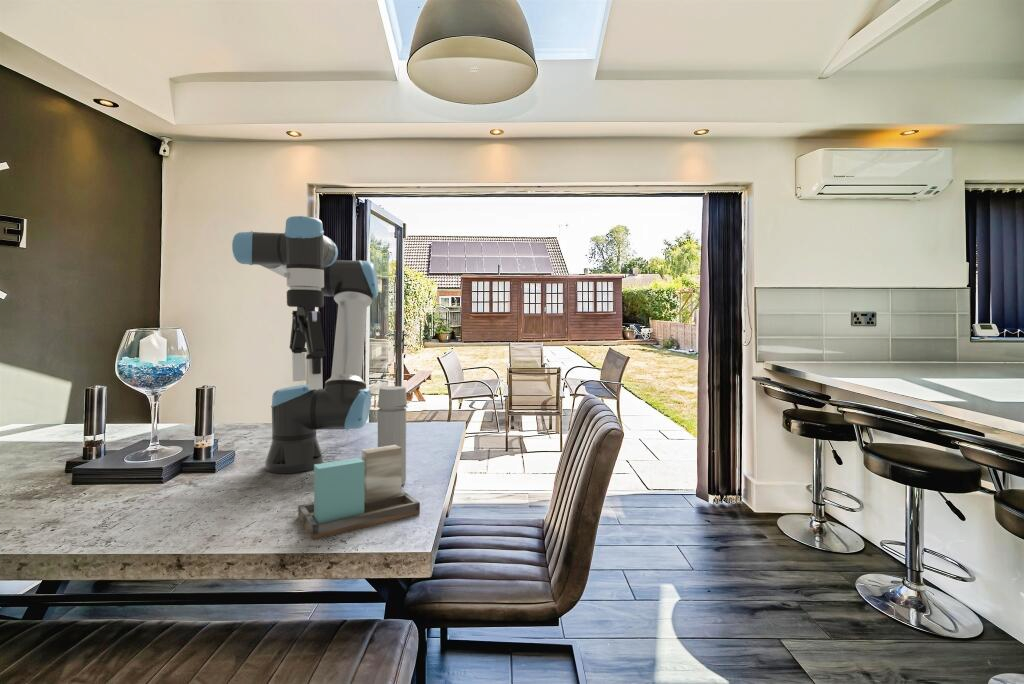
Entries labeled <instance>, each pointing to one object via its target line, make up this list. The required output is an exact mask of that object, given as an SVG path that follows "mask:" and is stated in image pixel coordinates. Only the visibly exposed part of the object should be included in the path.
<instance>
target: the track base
mask: <svg viewBox="0 0 1024 684" xmlns="http://www.w3.org/2000/svg"><path fill="white" fill-rule="evenodd" d="M361 460H363V461H364V514H360V515H355V516H351V517H346V518H342V519H338V520H333V521H329V522H324V523H320V524H317V523H316V522H315V520H314V502H310V503H305V504H300V505H298V507H297V508H298V509H297V510H298V511H297V512H298V515H297V517H298V520H299V521H300V522H301V524H302V525H303V526H304V528H305V529H306V532H307V533H308V534H309V535H310V536H309V537H310V538H311V539H312V540H313V541H315V540H318V539H319V540H320V539H323V538H326V537H331V536H336V535H340V534H343V533H347V532H351V531H357V530H359V529H364V528H368V527H373V526H375V525H380V524H383V523H384V524H385V523H388V522H389V523H390V522H393V521H396V520H397V521H398V520H401V519H405V518H409V517H414V516H416V515H420V514H421V503H420V502H419V501H418V500H417V499H415V498H414V497H413V496H412V495H410V494H409V493H407V492H406V491H405V490H403V489H402V485H401V461H402V448H401V447H399V446H397V445H390V446H384V447H378V446H377V447H372V448H371V447H370V448H364V449H361Z"/></svg>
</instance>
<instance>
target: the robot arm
mask: <svg viewBox="0 0 1024 684" xmlns="http://www.w3.org/2000/svg"><path fill="white" fill-rule="evenodd" d="M323 227H324V226H323V222H322V220H321V219H319V218H316V217H311V216H305V215H297V216H296V215H294V216H289V217H288V218H286V220H285V229H284V232H281V233H280V232H261V231H260V232H259V231H241V232H240V231H239V232H237V233H235V234H234V236H233V238H232V242H231V243H232V244H231V245H232V246H231V247H232V248H231V249H232V254H233V257H234V259H235V261H236V262H237V263H239V264H242V265H249V266H254V265H255V266H261V267H263V268H265V269H267V270H269V271H272V272H273V273H276V274H277V275H280V276H281V277H283V278H286V286H287V287H288V288H289V289H287V291H286V306H288V307H291V308H296V310H292V313H291V315H292V320H291V322H292V323H291V333H290V343H289V350H291V355H292V356H291V357H292V382H303V381H305V382H306V381H307V382H308V383H307V384H300V385H298V384H297V385H294V386H292V385H291V386H288V387H283V388H280V389H276V390H275V391H274V392H273V393H272V398H271V406H270V407H271V435H272V437H271V439H272V440H271V444H270V447H269V450H268V453H267V456H266V459H265V462H264V463H265V471H266V472H269V473H273V474H295V473H303V472H307V471H311V470H314V464H321V463H324V455H323V452H322V449H321V447H320V444H319V441H318V439H317V430H318V431H319V430H321V431H323V430H325V431H326V430H327V431H328V430H329V431H330V430H346V431H350V430H356V429H358V430H359V429H361V428H363V427H364V426H365V425H366V423H367V421H368V419H369V415H370V411H371V407H372V392H371V390H370V389H368V388H367V383H366V382H365V381H364V380H363V378H362V377H363V362H364V349H365V339H366V338H365V335H366V325H367V324H366V323H367V310H368V307H370V306H371V305H372V303H373V298H374V299H375V298H377V297H378V296H379V284H378V283H379V281H378V276H377V270H376V267H375V265H374V263H373V262H372V261H370V260H369V261H368V260H360V259H358V260H350V259H349V260H346V259H345V260H343V259H341V260H340V259H338V255H339V250H338V249H339V248H338V247H337V244H336V243H335V242H334V241H333V240H332V239H331V238H330V237H328V236H326V235H324V233H325V231H324V228H323ZM325 297H333V300H334V301H335V303H336V304H337V314H336V317H337V318H336V324H335V336H334V345H333V354H332V355H333V357H332V367H331V375H330V378H328V379H327V380H326V381H325V382H324V381H323V380H324V379H323V359H324V357H326V355H327V354H326V353H327V352H326V346H325V339H324V334H323V333H324V332H323V328H322V319H321V318H322V317H321V315H322V313H321V312H320V310H319V311H316V308H323V307H324V306H325ZM306 347H307V348H306ZM307 352H308V354H307V355H306V353H307ZM306 362H307V363H306ZM306 369H307V370H306ZM306 371H307V372H306ZM307 378H308V379H307ZM323 382H324V383H323ZM323 384H324V385H323ZM323 386H324V388H323Z"/></svg>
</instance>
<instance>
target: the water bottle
mask: <svg viewBox="0 0 1024 684" xmlns="http://www.w3.org/2000/svg"><path fill="white" fill-rule="evenodd" d="M407 398H408V397H407V389H406V387H405V386H400V385H398V386H397V385H395V386H391V385H390V386H382V387H379V392H378V401H377V405H376V408H378V410H377V447H384V446H390V445H397V446H399V447H401V448H402V461H401V486H404V484H405V483H406V481H407V408H408V407H409V406H408V405H407V404H408V399H407Z"/></svg>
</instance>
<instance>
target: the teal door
mask: <svg viewBox="0 0 1024 684" xmlns="http://www.w3.org/2000/svg"><path fill="white" fill-rule="evenodd" d="M313 503H314V520H315V522H316V523H317V524H320V523H324V522H329V521H333V520H338V519H342V518H346V517H351V516H355V515H360V514H364V461H363V460H362V458H360V457H353V458H348V459H341V460H335V461H329V462H323V463H321V464H314V469H313Z"/></svg>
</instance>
